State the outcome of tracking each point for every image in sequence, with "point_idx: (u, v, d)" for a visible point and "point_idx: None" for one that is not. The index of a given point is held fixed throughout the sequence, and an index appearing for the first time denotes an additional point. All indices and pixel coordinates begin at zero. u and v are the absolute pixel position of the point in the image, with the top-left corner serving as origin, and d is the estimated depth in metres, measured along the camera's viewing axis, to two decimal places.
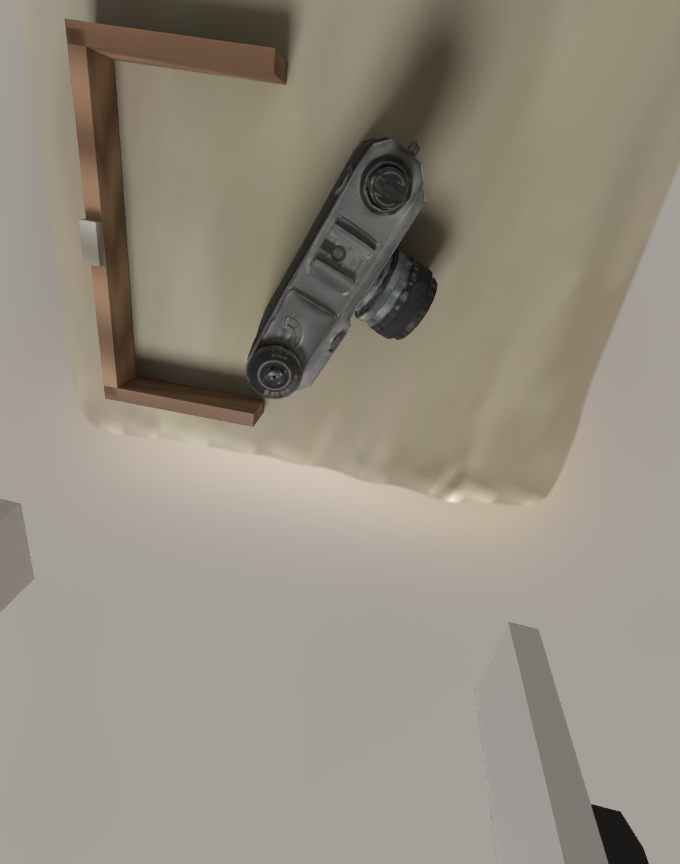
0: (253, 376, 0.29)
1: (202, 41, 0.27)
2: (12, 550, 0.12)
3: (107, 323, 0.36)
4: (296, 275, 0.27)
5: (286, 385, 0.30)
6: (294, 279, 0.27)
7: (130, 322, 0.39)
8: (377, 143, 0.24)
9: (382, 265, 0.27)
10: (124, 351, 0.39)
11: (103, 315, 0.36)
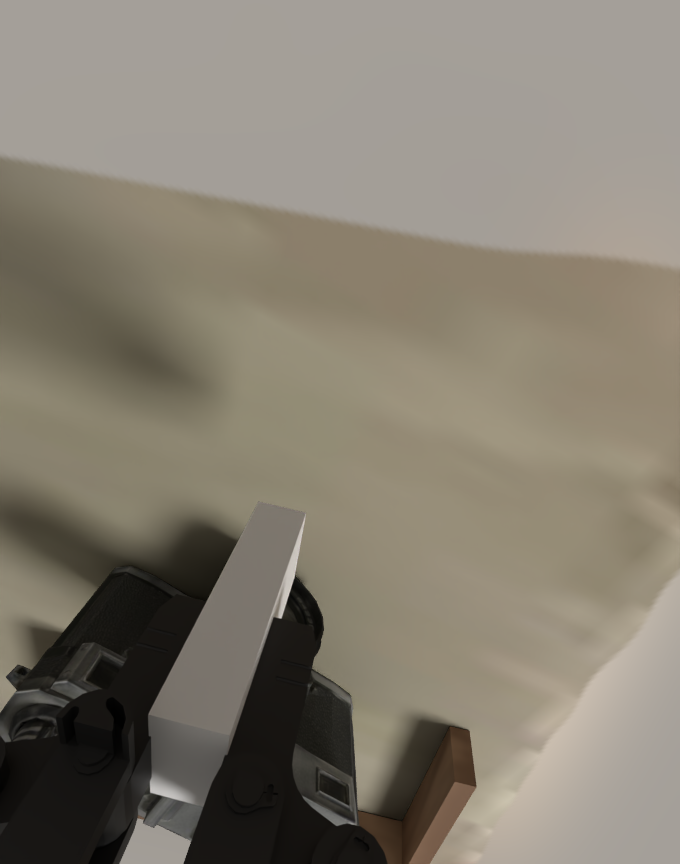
0: None
1: None
2: None
3: None
4: (174, 831, 0.19)
5: None
6: (179, 833, 0.19)
7: None
8: None
9: None
10: None
11: None
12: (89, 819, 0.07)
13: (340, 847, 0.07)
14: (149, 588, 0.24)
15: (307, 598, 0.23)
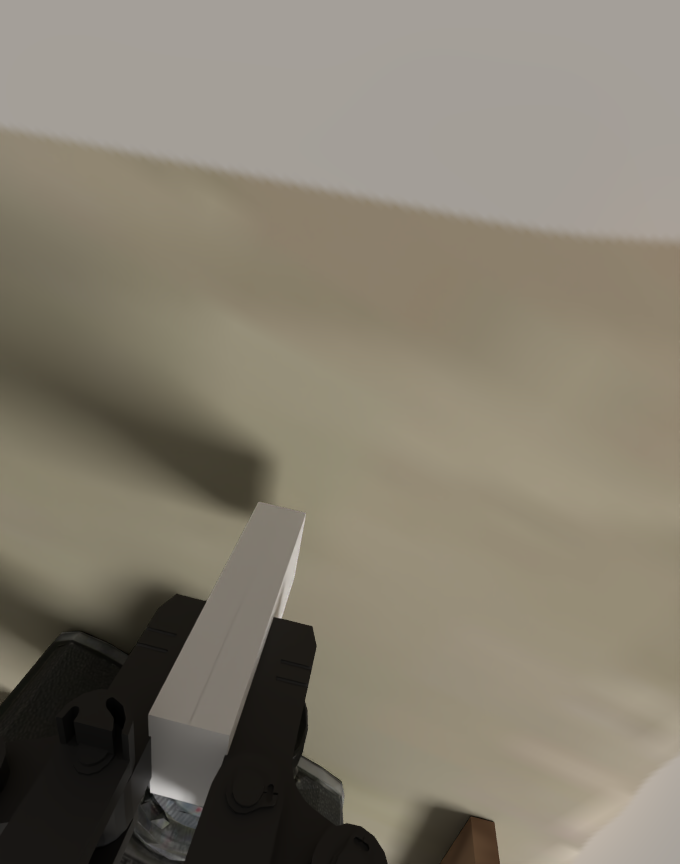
0: None
1: None
2: None
3: None
4: None
5: None
6: None
7: None
8: None
9: None
10: None
11: None
12: (89, 819, 0.07)
13: (340, 847, 0.07)
14: (99, 661, 0.20)
15: None
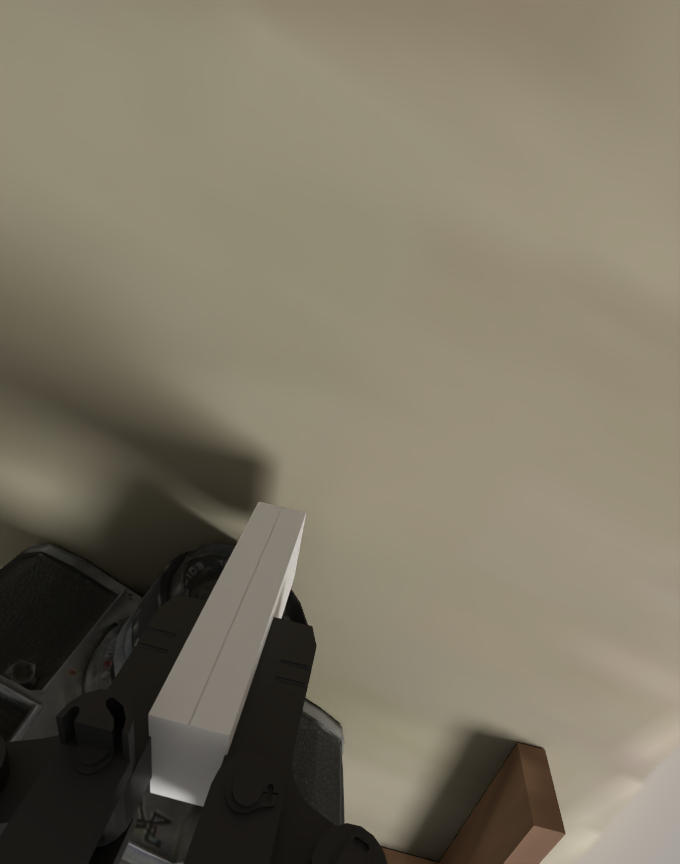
0: None
1: None
2: None
3: None
4: None
5: None
6: None
7: None
8: None
9: None
10: None
11: None
12: (89, 819, 0.07)
13: (340, 847, 0.07)
14: (72, 575, 0.18)
15: (288, 597, 0.17)
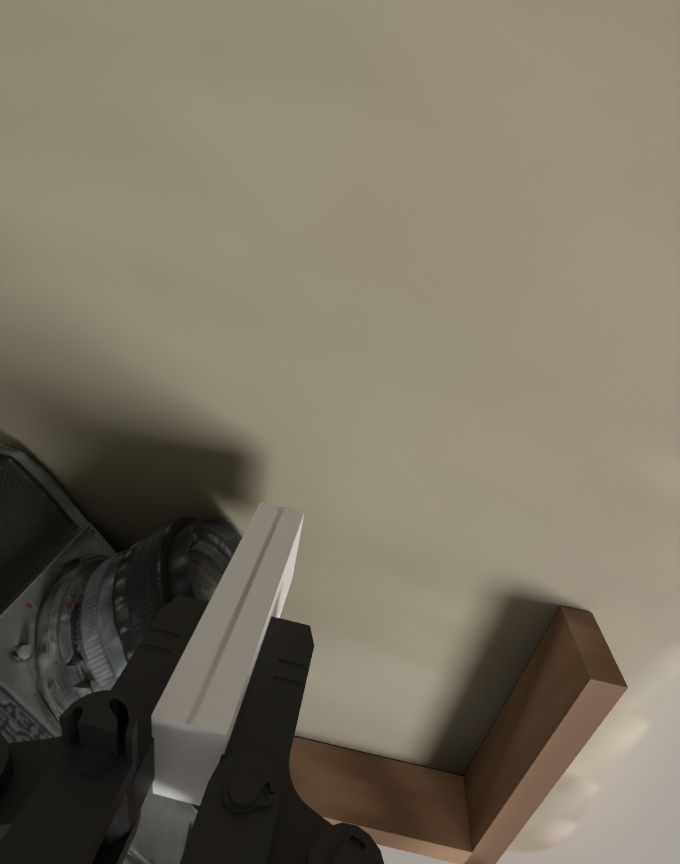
0: None
1: None
2: None
3: None
4: None
5: None
6: None
7: (363, 759, 0.22)
8: None
9: None
10: (407, 798, 0.21)
11: None
12: (92, 820, 0.07)
13: (336, 846, 0.07)
14: (38, 493, 0.16)
15: None
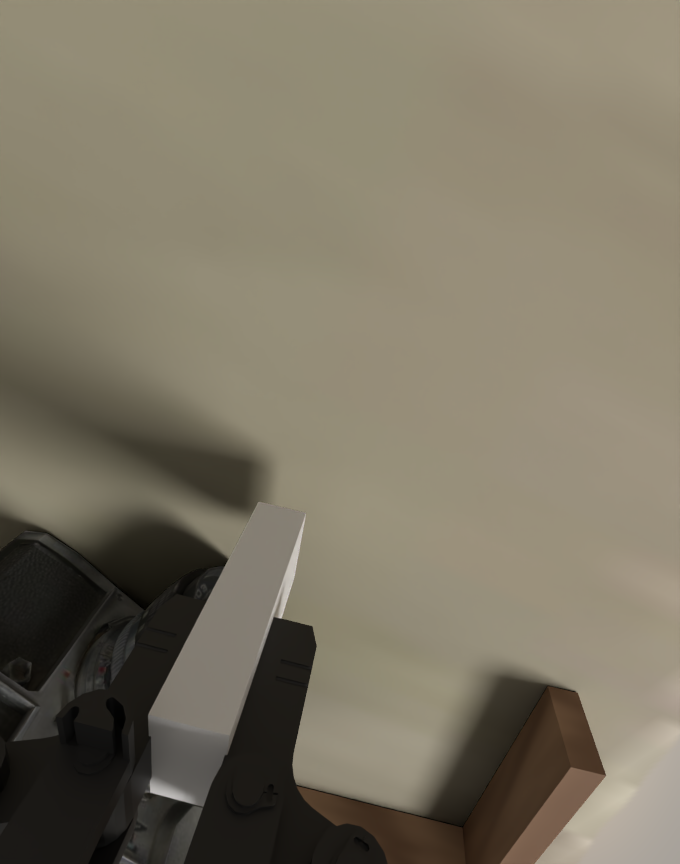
0: None
1: None
2: None
3: None
4: None
5: None
6: None
7: (368, 810, 0.24)
8: None
9: None
10: (409, 850, 0.23)
11: None
12: (89, 819, 0.07)
13: (340, 847, 0.07)
14: (65, 569, 0.18)
15: None
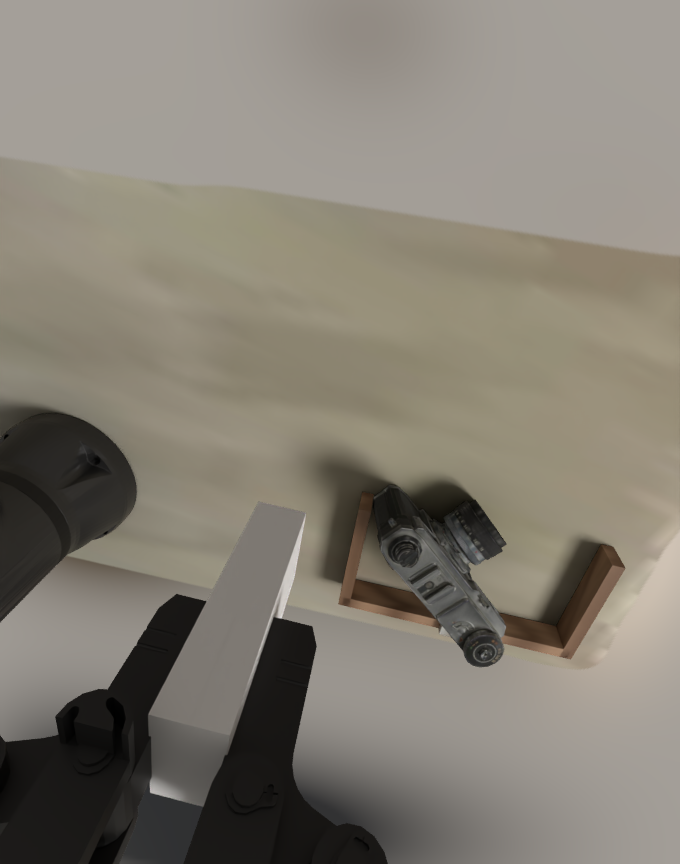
0: (478, 663, 0.41)
1: (352, 544, 0.46)
2: None
3: (510, 639, 0.49)
4: (429, 610, 0.41)
5: (495, 649, 0.41)
6: (431, 612, 0.41)
7: (511, 617, 0.51)
8: (381, 548, 0.39)
9: (448, 562, 0.40)
10: (533, 631, 0.50)
11: (504, 639, 0.49)
12: (89, 819, 0.07)
13: (340, 847, 0.07)
14: (408, 500, 0.45)
15: None
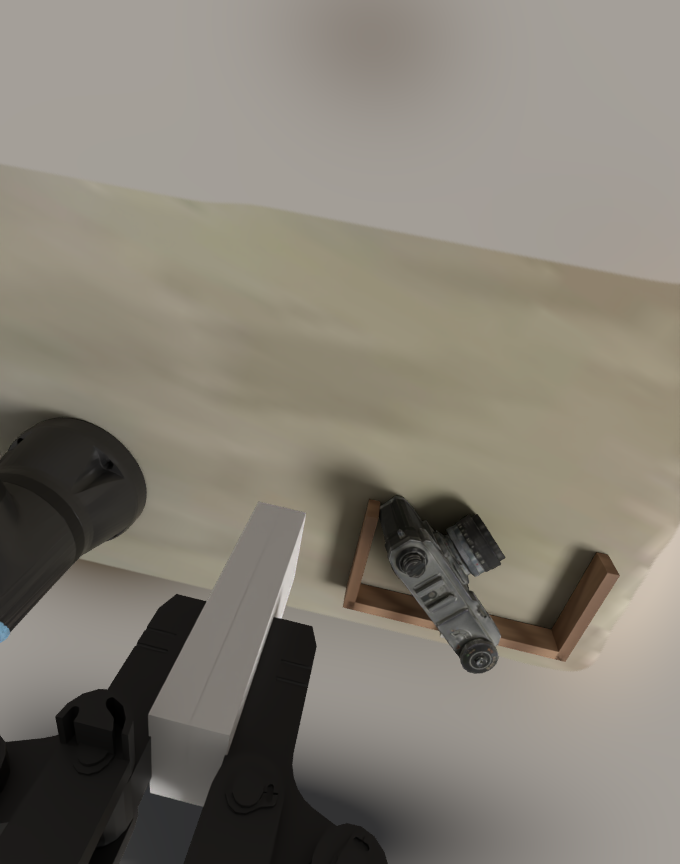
0: (473, 670, 0.44)
1: (359, 549, 0.48)
2: None
3: (508, 641, 0.51)
4: (431, 618, 0.43)
5: (490, 657, 0.43)
6: (432, 620, 0.43)
7: (509, 621, 0.53)
8: (389, 558, 0.40)
9: (452, 573, 0.42)
10: (530, 634, 0.52)
11: (502, 642, 0.51)
12: (89, 819, 0.07)
13: (340, 847, 0.07)
14: (413, 511, 0.47)
15: None
